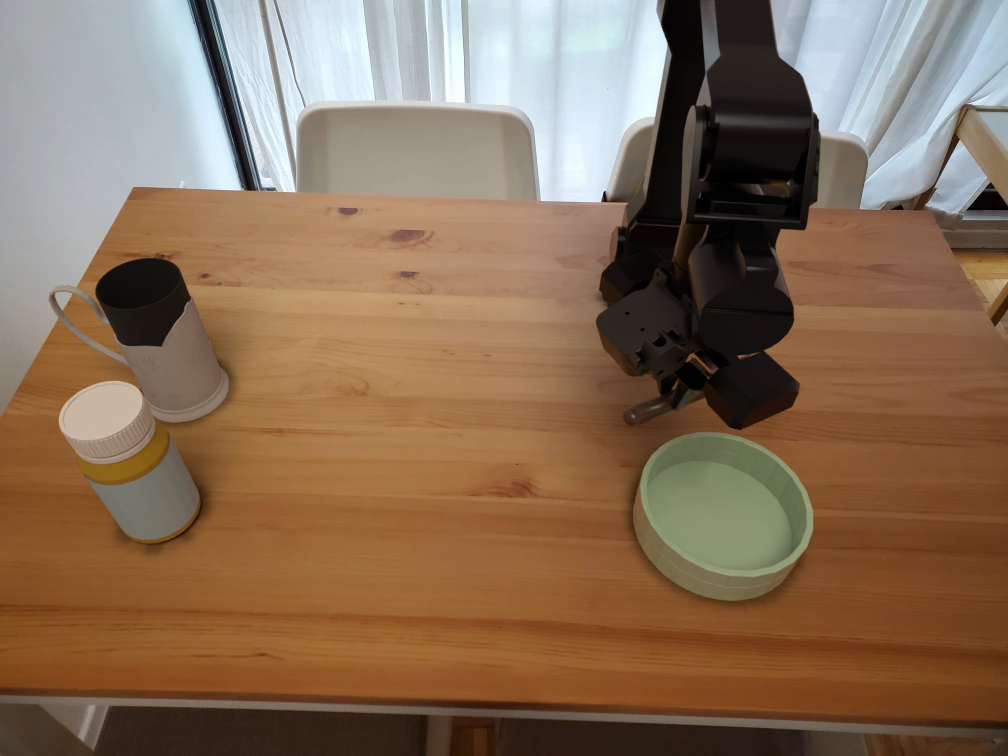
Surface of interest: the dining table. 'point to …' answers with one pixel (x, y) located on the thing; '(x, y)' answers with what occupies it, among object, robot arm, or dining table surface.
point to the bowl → (721, 515)
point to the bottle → (130, 461)
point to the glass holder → (156, 337)
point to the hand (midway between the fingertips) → (671, 400)
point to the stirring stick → (652, 409)
